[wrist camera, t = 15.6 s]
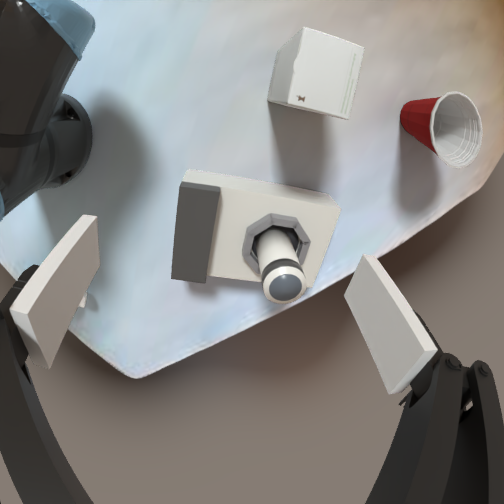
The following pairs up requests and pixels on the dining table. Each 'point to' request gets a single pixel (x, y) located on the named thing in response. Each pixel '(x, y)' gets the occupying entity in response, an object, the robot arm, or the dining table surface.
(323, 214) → the camera body
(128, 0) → the dining table surface
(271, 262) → the lens
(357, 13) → the dining table surface
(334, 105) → the skincare box
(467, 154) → the plastic cup
